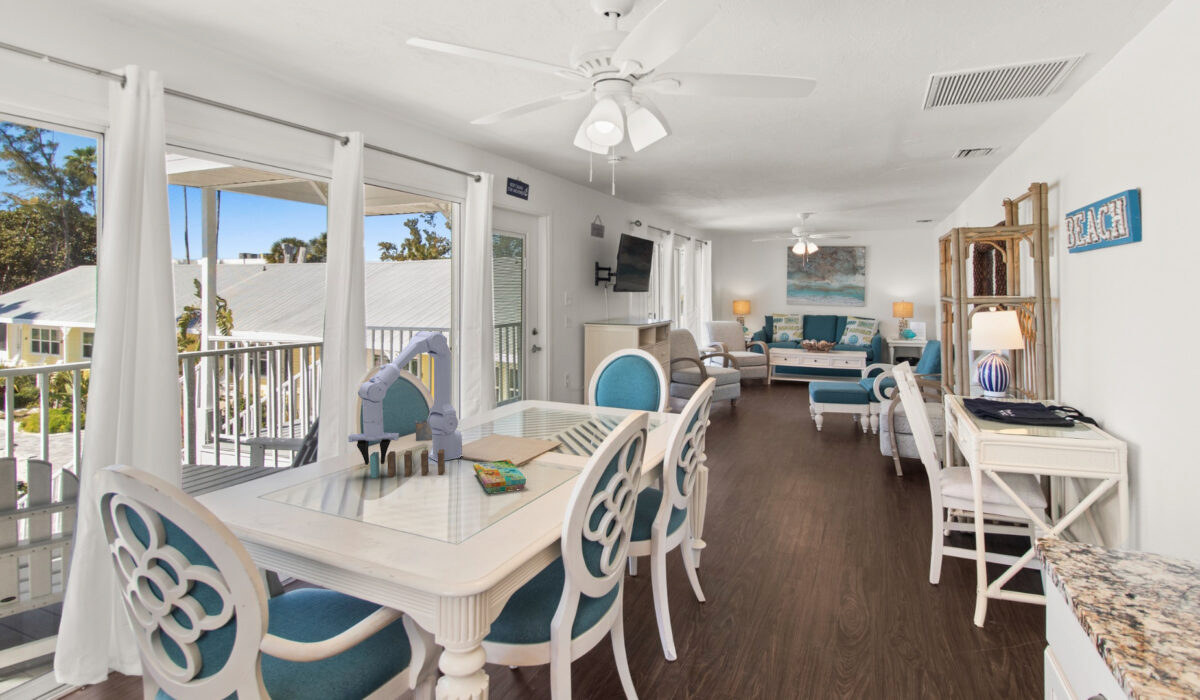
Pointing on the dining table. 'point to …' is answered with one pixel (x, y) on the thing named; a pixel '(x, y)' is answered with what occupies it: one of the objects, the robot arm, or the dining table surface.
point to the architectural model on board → (423, 431)
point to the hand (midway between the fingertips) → (375, 463)
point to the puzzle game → (499, 476)
